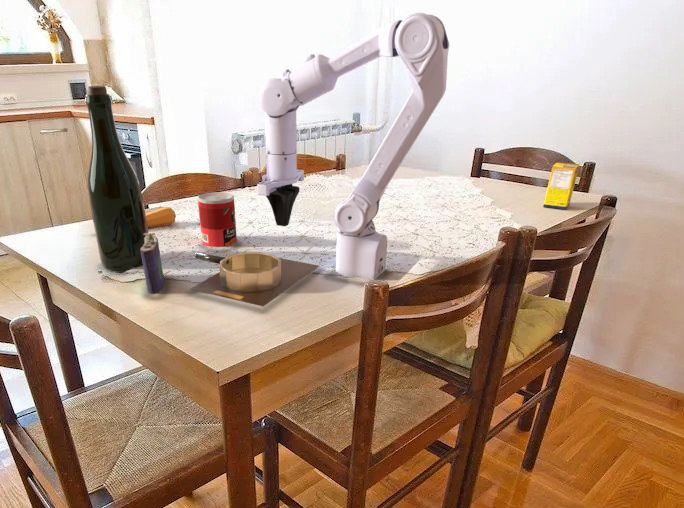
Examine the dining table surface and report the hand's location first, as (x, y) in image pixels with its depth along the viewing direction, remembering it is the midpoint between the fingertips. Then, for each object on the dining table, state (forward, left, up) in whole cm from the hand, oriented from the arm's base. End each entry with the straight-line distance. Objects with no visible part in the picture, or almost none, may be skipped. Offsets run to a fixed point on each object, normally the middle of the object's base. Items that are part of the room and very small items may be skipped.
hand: (282, 224), depth 106 cm
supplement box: (-45, -75, -9) cm, 88 cm away
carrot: (+45, -5, -9) cm, 46 cm away
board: (0, +10, -8) cm, 13 cm away
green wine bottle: (+29, +15, -9) cm, 34 cm away
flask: (+15, +22, -9) cm, 28 cm away
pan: (+4, +12, -7) cm, 15 cm away
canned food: (+19, -4, -9) cm, 21 cm away
